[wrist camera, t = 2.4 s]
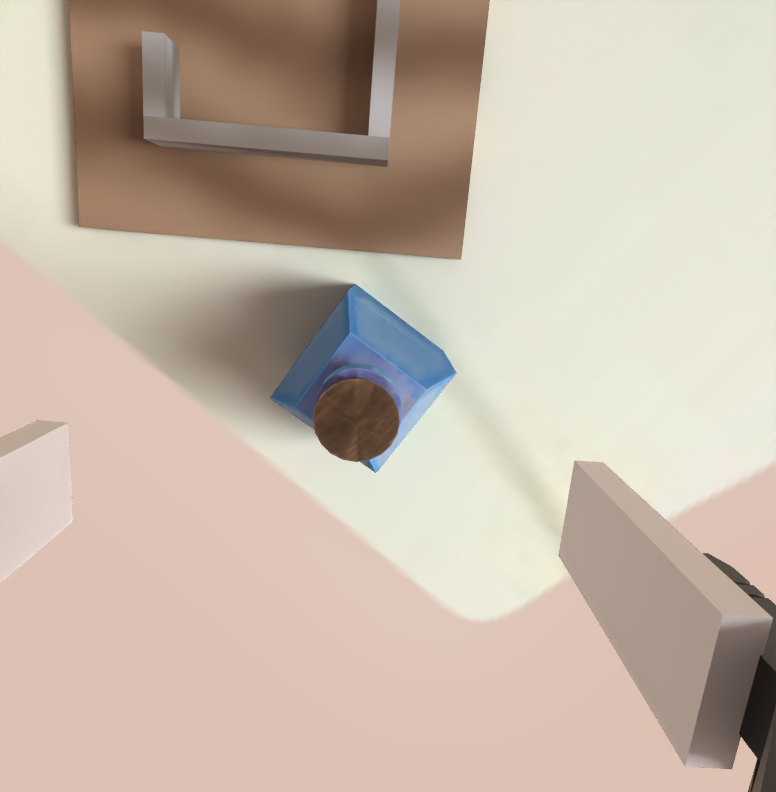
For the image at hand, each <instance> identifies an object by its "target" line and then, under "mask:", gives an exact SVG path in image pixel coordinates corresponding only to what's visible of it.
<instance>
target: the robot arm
mask: <svg viewBox="0 0 776 792" xmlns="http://www.w3.org/2000/svg"><path fill="white" fill-rule="evenodd" d="M69 455H70V454H69V435H68V423H64V422H51V421H38V420H37V421H35V422H33V423H31V424H29V425H27V426H25V427H23V428H20V429H18V430H16V431H14V432H12V433H10V434H7V435H5V436H3V437H1V438H0V583H1V582H2V581H4V580H5V579H6V578H7V577H8V576H10V575H11V574H12V573H13V572H14V571H16V570H17V569H18V568H19V567H20V566H21V565H23V564H24V563H25V562H26V561H27V560H29V559H30V558H31V557H32V556H33V555H34V554H36V553H37V552H38V551H39V550H40V549H41V548H43V547H44V546H45V545H46V544H47V543H49V542H50V541H51V540H52V539H53V538H54V537H55V536H57V535H58V534H59V533H60V532H61V531H63V530H64V529H65V528H66V527H67V526H69V525H70V524H71V523H72V522H73V512H72V495H71V494H72V493H71V473H70V456H69ZM559 557H560V559H561V560H562V562H563V564H564V565H565V567H566V569H567V570H568V572H569V574H570V575H571V577H572V579H573V580H574V582H575V584H576V585H577V587H578V588H579V590H580V592H581V594H582V595H583V597H584V598H585V600H586V602H587V604H588V605H589V607H590V608H591V610H592V612H593V613H594V615H595V617H596V619H597V620H598V622H599V623H600V625H601V627H602V629H603V630H604V632H605V634H606V635H607V637H608V639H609V640H610V642H611V644H612V645H613V647H614V649H615V650H616V652H617V654H618V655H619V657H620V659H621V660H622V662H623V664H624V665H625V667H626V669H627V670H628V672H629V674H630V675H631V677H632V679H633V680H634V682H635V684H636V685H637V687H638V689H639V690H640V692H641V694H642V695H643V697H644V699H645V700H646V702H647V704H648V705H649V707H650V709H651V710H652V712H653V714H654V715H655V717H656V719H657V720H658V722H659V724H660V725H661V727H662V729H663V730H664V732H665V734H666V736H667V737H668V739H669V741H670V742H671V744H672V745H673V747H674V749H675V751H676V752H677V754H678V755H679V757H680V759H681V761H682V762H683V764H684V766H686V767H703V768H704V767H705V768H721V769H732V767H733V763H734V760H735V756H736V752H737V749H738V745H739V741H740V738H741V737H742V738H743V740H744V741H745V742H746V744H747V745H748V746H749V748H750V749H751V750H752V752H753V753H754V754H755V756H756V757H757V762H756V765H755V769H754V772H753V776H752V780H751V783H750V786H749V790H748V792H776V605H775V604H774V603H773V602H772V601H771V600H769V599H768V598H765V597H764V594H763V593H761V592H760V591H759V590H758V589H757V588H756V587H755V586H753V585H750V582H749V581H748V580H747V579H745V578H744V577H743V576H742V575H741V574H740V573H739V572H737V571H736V570H735V569H734V568H733V567H731V566H730V565H728V564H726V563H724V562H722V561H721V560H719V559H717V558H715V557H713V556H712V555H710V554H708V553H701V552H700V551H699V550H698V549H697V548H696V547H695V546H694V545H693V544H692V543H690V542H689V541H688V540H687V539H686V538H685V537H684V536H683V535H682V534H681V533H679V531H677V530H676V529H675V528H674V527H673V526H672V525H671V524H670V523H669V522H668V521H667V520H665V519H664V518H663V517H662V516H661V515H660V514H659V513H658V512H657V511H656V510H655V509H653V508H652V507H651V506H650V505H649V504H648V503H647V502H646V501H645V500H644V499H642V498H641V497H640V496H639V495H638V494H637V493H636V492H635V491H634V490H633V489H632V488H630V487H629V486H628V485H627V484H626V483H625V482H624V481H623V480H622V479H621V478H620V477H618V476H617V475H616V474H615V473H614V472H613V471H612V470H611V469H610V468H609V467H608V466H606V465H605V464H604V463H601V462H588V461H574V467H573V473H572V479H571V485H570V491H569V497H568V503H567V509H566V514H565V520H564V526H563V532H562V538H561V544H560V550H559Z"/></svg>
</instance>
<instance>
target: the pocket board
mask: <svg viewBox="0 0 776 792" xmlns="http://www.w3.org/2000/svg"><path fill="white" fill-rule="evenodd" d="M489 1H490V0H69V18H70V39H71V60H72V81H73V102H74V124H75V145H76V166H77V187H78V209H79V227H86V228H97V229H109V230H121V231H133V232H144V233H156V234H168V235H180V236H191V237H203V238H215V239H227V240H239V241H250V242H262V243H274V244H286V245H298V246H309V247H321V248H333V249H345V250H356V251H368V252H380V253H392V254H404V255H415V256H427V257H439V258H451V259H461V255H462V246H463V237H464V228H465V219H466V210H467V201H468V192H469V183H470V174H471V165H472V156H473V147H474V137H475V128H476V119H477V110H478V101H479V92H480V83H481V74H482V65H483V56H484V47H485V38H486V29H487V20H488V10H489Z"/></svg>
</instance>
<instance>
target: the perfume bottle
mask: <svg viewBox="0 0 776 792" xmlns="http://www.w3.org/2000/svg"><path fill="white" fill-rule="evenodd" d="M455 374H456V371H455V370H454V368H453V366H452V365H451V363H450V361H449V360H448V358H447V356H446V355H445V353H444V351H443V350H441V349H440V348H439V347H437V346H436V345H435V344H433V343H432V342H431V341H429V340H428V339H427V338H426V337H424V336H423V335H422V334H420V333H419V332H418V331H416V330H415V329H414V328H412V327H411V326H410V325H409V324H407V323H406V322H405V321H403V320H402V319H401V318H399V317H398V316H397V315H395V314H394V313H393V312H392V311H390V310H389V309H388V308H386V307H385V306H384V305H382V304H381V303H380V302H378V301H377V300H376V299H374V298H373V297H372V296H371V295H369V294H368V293H367V292H365V291H364V290H363V289H361V288H360V287H359V286H357V285H356V284H355V285H354V286H353V287H352V288H351V289H350V290H349V291H348V292H347V293H346V295H345V296H344V297H343V299H342V300H341V301H340V303H339V304H338V306H337V307H336V308H335V310H334V311H333V312H332V314H331V315H330V316H329V318H328V319H327V321H326V322H325V323H324V325H323V326H322V327H321V329H320V330H319V332H318V333H317V334H316V336H315V337H314V338H313V340H312V341H311V343H310V344H309V345H308V347H307V348H306V349H305V351H304V352H303V353H302V355H301V356H300V358H299V359H298V360H297V362H296V363H295V364H294V366H293V367H292V369H291V370H290V371H289V373H288V374H287V375H286V377H285V378H284V379H283V381H282V382H281V384H280V385H279V386H278V388H277V389H276V390H275V392H274V393H273V395H272V396H271V397H270V398H271V399H272V400H273V401H275V402H276V403H278V404H279V405H280V406H282V407H283V408H285V409H286V410H288V411H289V412H290V413H292V414H293V415H295V416H296V417H297V418H299V419H300V420H302V421H303V422H305V423H306V424H307V425H309V426H310V427H312V428H313V429H314V430H315V433H316V435H317V437H318V439H319V441H320V443H321V444H322V445H323V446H324V447H325V448H326V449H327V450H328V451H329V452H330V453H331V454H333V455H335V456H337V457H339V458H341V459H343V460H348V461H354V462H358V461H360V462H361V463H363V464H364V465H365V466H367V467H368V468H370V469H371V470H372V471H374V472H375V473H376V472H377V471H378V470H379V469H380V468H381V466H382V465H383V464H384V463H385V461H386V460H387V459H388V458H389V456H390V455H391V454H392V453H393V451H394V450H395V449H396V448H397V446H398V445H399V444H400V443H401V441H402V440H403V439H404V438H405V436H406V435H407V434H408V433H409V431H410V430H411V429H412V428H413V426H414V425H415V424H416V423H417V421H418V420H419V419H420V418H421V416H422V415H423V414H424V413H425V411H426V410H427V409H428V408H429V406H430V405H431V404H432V403H433V401H434V400H435V399H436V398H437V396H438V395H439V394H440V393H441V391H442V390H443V389H444V388H445V386H446V385H447V384H448V383H449V381H450V380H451V379H452V378H453V376H454V375H455Z"/></svg>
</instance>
